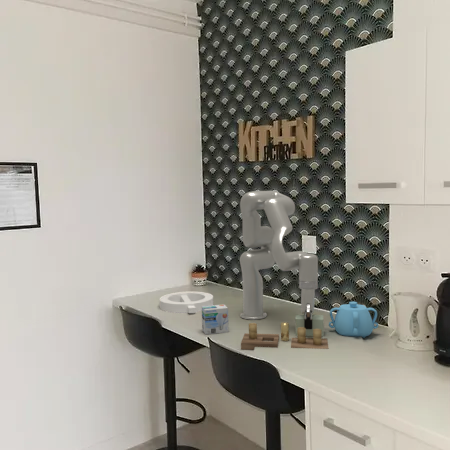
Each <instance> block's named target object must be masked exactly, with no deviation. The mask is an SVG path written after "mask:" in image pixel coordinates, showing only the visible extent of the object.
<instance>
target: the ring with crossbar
mask: <svg viewBox="0 0 450 450" xmlns="http://www.w3.org/2000/svg"><path fill="white" fill-rule="evenodd" d="M212 305H214V295H213V294H211V293H210V292H203V291H193V290H191V291H178V292H176V291H175V292H172V293H167V294H164V295H161V297H159V309H160V310H161V311H163V310H164V311H163V312H166V311H168V313H172V312H174V313H175V314H186V313H187V314H188V313H189V314H196V313H198V312H202V306H212ZM174 313H173V314H174Z"/></svg>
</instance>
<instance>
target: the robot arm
mask: <svg viewBox="0 0 450 450" xmlns="http://www.w3.org/2000/svg"><path fill="white" fill-rule="evenodd" d="M239 207H240V212H241V218H242V243H243V245H244V246H245V247H246V248H260V249H251V250H247V251H244V252H243V253H242V254H241V255H240V256H239V264H240V268H241V277H242V304H243V306H242V307H243V308H242V309H243V312H241V313H240V315H239V317H240V318H242V319H244V320H250V321H251V320H254V321H255V320H262V319H265V318H266V317H267V316H268V314H267V312H265V311H264V285H263V283H264V281H263V277H262V275H261V273H260V270H265V269H271V268H272V267H273V266H274V265H275V264H276V266H277V268H278V269H279V270H280V271H282V272H289V271H295V270H298V288H299V289H300V290H301V292H300V293H301V294H300V297H301V298H300V299H301V300H300V303H301V304H300V305H301V306H300V308H301V312H300V313H301V315H305V319H304V328H306V329H312V315H314V314H313V313H314V311H315V310H314V309H315V297H316V295H315V293H316V292H315V291H316V290H317V289H318V283H319V281H318V278H319V277H318V275H319V274H318V273H319V271H318V269H319V268H318V267H319V262H318V260H319V257H318V255H316V254H313V253H307V252H306V251H304V250H303V251H302V250H297V251H289V252H288V251H287V252H286V251H285V248H284V246H283V239H284V237H286V236H287V235H289V234H290V233H291V232H292V230H293V225H292V222H291V220H290V218H289V217H290V216H292V215H293V214H294V213H295V211H296V205H295V202H294V201H293V199H292V198H291V197H289V196H287V195H285V194H283V193H280V192H278V191H276V190H257V191H256V190H254V191H248V192H245V193H244V194H243V195H242V197H241V199H240V202H239ZM257 210H264V212H265V215H266V217H267V218H266V219H267V220H268V223H269V225H270V226H268V225H263V226H261V225H262V224H261V223H262V220H261V216H260V214H259V212H258V211H257Z"/></svg>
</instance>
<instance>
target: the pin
mask: <svg viewBox="0 0 450 450" xmlns="http://www.w3.org/2000/svg"><path fill="white" fill-rule="evenodd" d="M280 341H281V342H289V341H290V322H287V321H282V322H280Z"/></svg>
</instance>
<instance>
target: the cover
mask: <svg viewBox="0 0 450 450" xmlns="http://www.w3.org/2000/svg"><path fill="white" fill-rule="evenodd" d="M304 319H305V315H304V314H295V318H294V320H295V322H294V323H295V328H294V329H295V336H296V337H297V328H298V327H304ZM324 326H325V325H324V315H323V314H312V329H306V337H313V329H321V330H322V337H324V335H325V334H324V333H325V332H324V331H325V330H324V329H325V328H324Z"/></svg>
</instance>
